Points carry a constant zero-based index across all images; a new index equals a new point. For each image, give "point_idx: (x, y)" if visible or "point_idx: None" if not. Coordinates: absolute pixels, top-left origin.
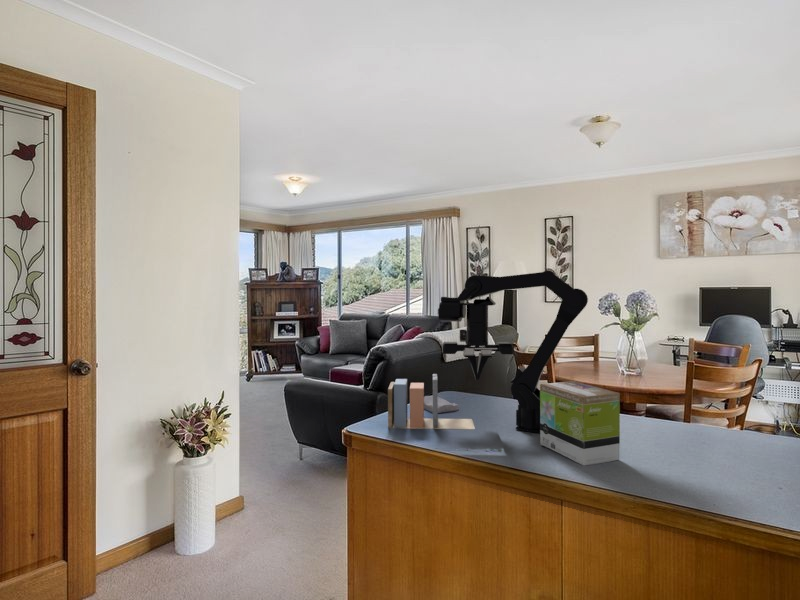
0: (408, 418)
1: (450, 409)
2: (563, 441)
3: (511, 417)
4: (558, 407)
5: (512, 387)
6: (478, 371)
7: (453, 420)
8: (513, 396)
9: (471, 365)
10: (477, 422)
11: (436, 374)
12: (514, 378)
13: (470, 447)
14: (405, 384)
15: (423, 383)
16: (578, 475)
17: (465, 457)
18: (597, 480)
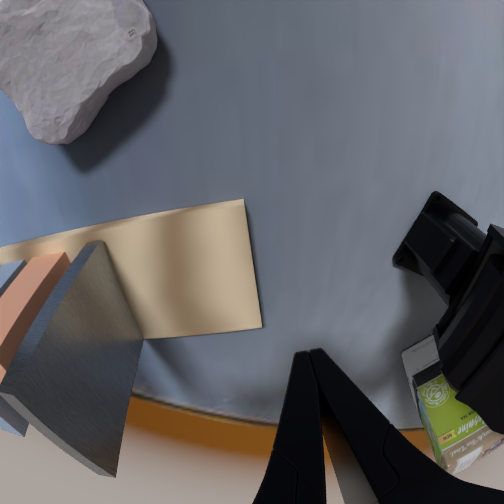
0: (22, 249)
1: (120, 77)
2: (416, 403)
3: (411, 82)
4: (433, 447)
5: (449, 380)
6: (327, 445)
7: (168, 244)
8: (438, 344)
9: (269, 476)
10: (267, 177)
11: (23, 407)
12: (473, 408)
13: (252, 391)
14: (23, 436)
15: (5, 370)
16: (389, 418)
17: (246, 420)
18: (401, 420)
